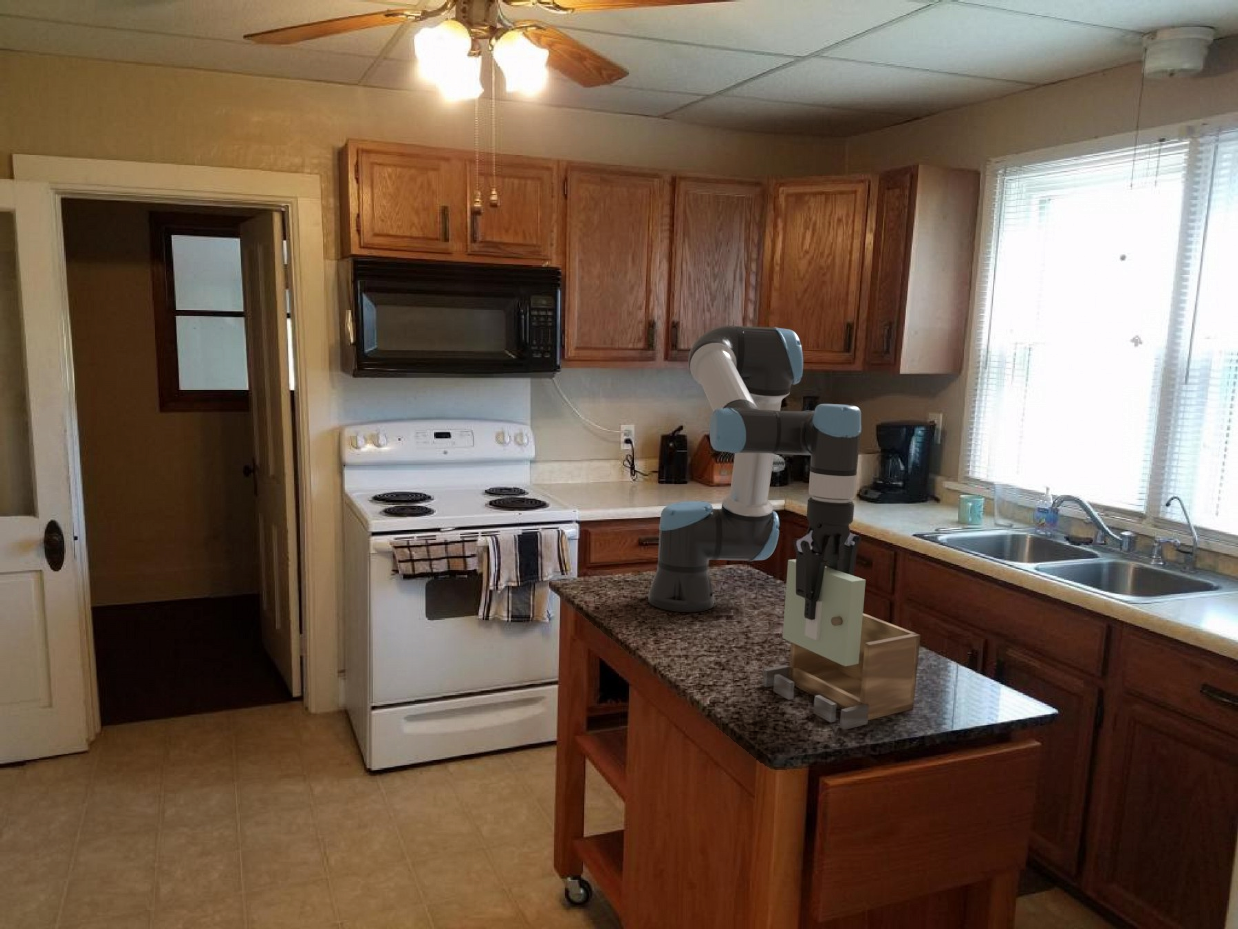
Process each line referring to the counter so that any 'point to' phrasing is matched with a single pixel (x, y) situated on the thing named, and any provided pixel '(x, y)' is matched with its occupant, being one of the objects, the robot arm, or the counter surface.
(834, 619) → the door
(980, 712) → the counter surface
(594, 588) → the counter surface
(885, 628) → the carcass
